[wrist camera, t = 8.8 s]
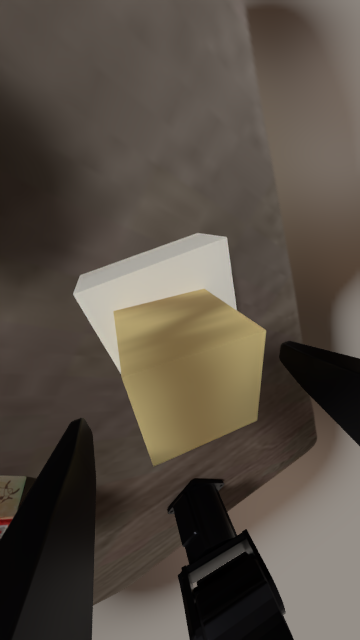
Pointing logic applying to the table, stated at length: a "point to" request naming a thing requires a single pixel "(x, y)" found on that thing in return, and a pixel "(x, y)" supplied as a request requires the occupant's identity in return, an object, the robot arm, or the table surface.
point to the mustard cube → (189, 370)
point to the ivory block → (154, 281)
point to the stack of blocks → (9, 499)
